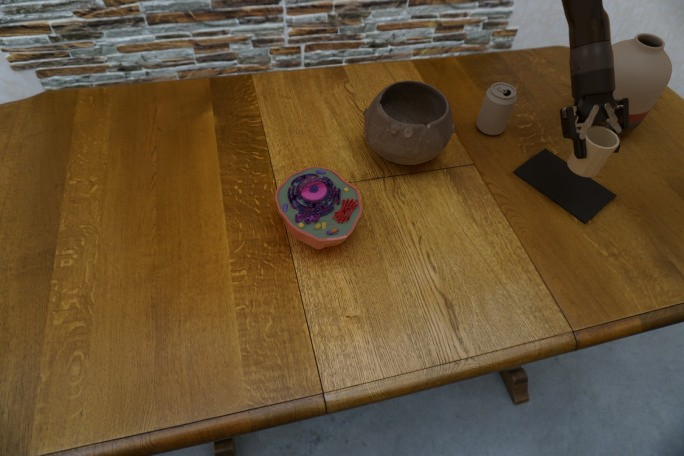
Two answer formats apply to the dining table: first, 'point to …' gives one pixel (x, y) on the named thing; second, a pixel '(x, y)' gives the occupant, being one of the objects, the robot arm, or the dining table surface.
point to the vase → (640, 75)
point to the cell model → (319, 206)
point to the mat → (564, 185)
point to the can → (496, 108)
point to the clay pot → (408, 122)
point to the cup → (594, 152)
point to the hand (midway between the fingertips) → (597, 155)
